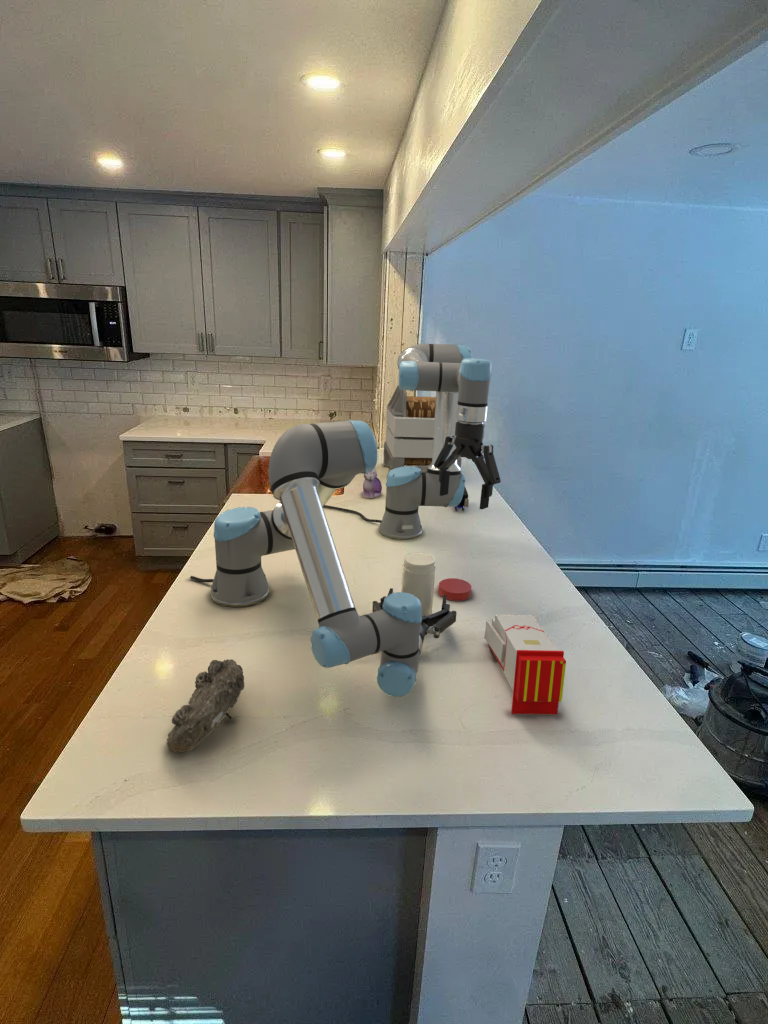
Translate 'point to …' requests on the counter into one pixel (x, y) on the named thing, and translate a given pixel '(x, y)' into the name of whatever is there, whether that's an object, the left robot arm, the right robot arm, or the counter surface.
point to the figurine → (371, 485)
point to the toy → (527, 663)
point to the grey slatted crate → (409, 430)
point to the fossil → (206, 705)
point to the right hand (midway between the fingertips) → (463, 501)
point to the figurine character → (463, 501)
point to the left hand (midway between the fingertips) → (417, 596)
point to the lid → (455, 589)
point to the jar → (419, 579)
